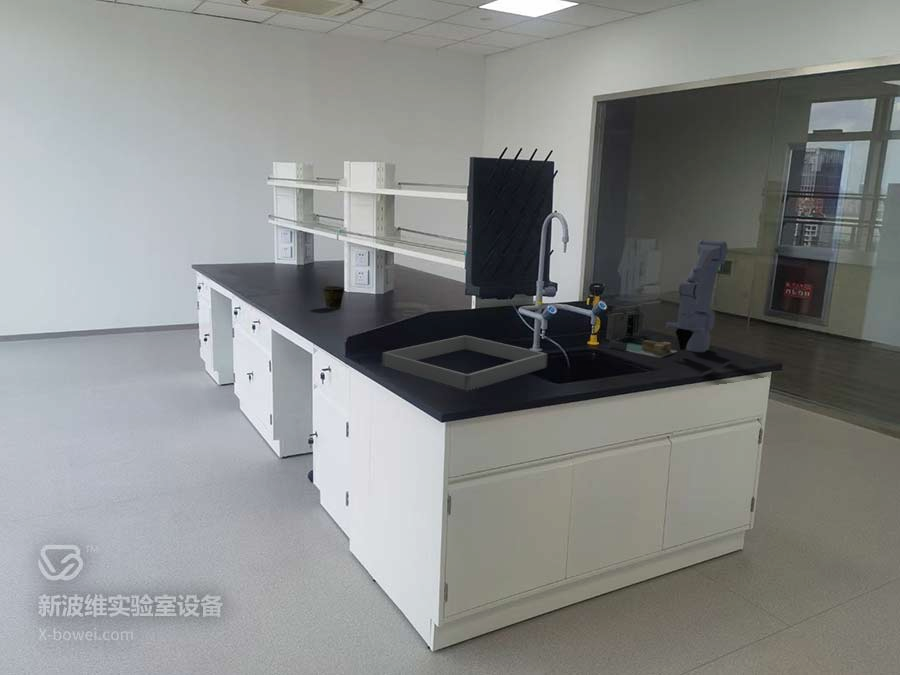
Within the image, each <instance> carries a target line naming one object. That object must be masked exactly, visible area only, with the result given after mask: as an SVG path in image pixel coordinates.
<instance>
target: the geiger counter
mask: <svg viewBox="0 0 900 675" xmlns="http://www.w3.org/2000/svg"><path fill="white" fill-rule="evenodd" d="M611 310H612V311H609V312H606V314H605V316H606V317H607V325H606V335H605V336H606V337H605V340H606V341H611V340H614V339H618V338H621V337H625V336H632V337H637V338H641V337H642V334H643V331H646V329H647V326H648V325H647V321H646V320H645V319H644V317H645V312H644V311H643V310H644V305H643V304H642V303H641V304H635V305H630V306H629V305H628V306H620V307H619V306H618V307H613V308H612V309H611ZM644 323H645V327H643V326H644Z"/></svg>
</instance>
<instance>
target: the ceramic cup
mask: <svg viewBox="0 0 900 675" xmlns="http://www.w3.org/2000/svg"><path fill="white" fill-rule="evenodd" d="M322 289H323V290H322V291H323V295H324V299H325V300H324V301H325V306H326V309H328V310H340V309H341V308H342V302H343V296H344V291H345V286H344V287H343V286H340V285H339V286H336V285H327V286H323V288H322Z"/></svg>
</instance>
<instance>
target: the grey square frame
mask: <svg viewBox="0 0 900 675" xmlns="http://www.w3.org/2000/svg"><path fill="white" fill-rule="evenodd" d="M461 350H462V351H463V350H468V351H472V352H476V353H479V354H484V355H488V356H492V357H498V358H500V359H501V358H502V359H506V360H510V361H511V362H506V363H503V364H499V365H496V366H492V367H489V368H484V369H482V370H478V371H473V372H471V373H470V372H469V373H463V372H459V371H457V370H452V369H449V368H445V367H441V366H438V365H434V364H431V363H427V362H423V361H420V360H423V359H428V358H432V357H437V356H441V355H446V354H449V353H453V352H458V351H461ZM382 366H385V367H389V368H392V369H395V370H398V371H401V372H405V373H409V374H412V375H415V376H419V377H422V378H426V379H429V380H433V381H436V382H439V383H443V384H446V385H450V386H453V387H456V388H459V389H463V390H466V391H467V392H469V391H468V390H471V391H473V390H472V389H474V390H476V389H475V388H477V389H480V388H479V387H481V388H484V387H487V386H489V385H493V384H496V383H500V382H503V381H506V380H510V379H512V378H516V377H519V376H520V377H521V376H524V375H527V374H529V373H533V372H536V371H539V370H543V369H546V368H547V366H548V353H546V352H542V351H537V350H534V349H529V348H524V347H520V346H516V345H511V344H507V343H506V344H505V343H502V342H497V341H493V340H489V339H484V338H479V337H476V336H471V335H467V334H466V335H465V334H464V335H460V336H455V337H451V338H446V339H442V340H441V339H440V340H436V341H435V340H434V341H432V342H430V341H429V342H425V343H421V344H418V345H417V344H416V345H412V346H409V347H408V346H407V347H403V348H397V349H394V350H393V349H392V350H389V351H383V352H381V367H382ZM401 372H400V373H401ZM415 376H414V377H415ZM439 383H438V384H439ZM483 386H484V387H483ZM456 388H455V389H456ZM459 389H458V390H459ZM463 390H462V391H463ZM466 391H465V392H466Z"/></svg>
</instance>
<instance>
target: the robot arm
mask: <svg viewBox="0 0 900 675" xmlns="http://www.w3.org/2000/svg"><path fill="white" fill-rule="evenodd" d="M727 253H728V243H727V242H726V241H718V240H717V241H715V240H706V239H700V241H699V242H698V245H697V254H698V259H697V261H696V265H695V266H694V267H692V268H690V271H689V273H688V274H687V277H686V279H685V280H684V281H683V282H680V284H679V287H678V297H679V298H678V301H679V308H678V315H677V316H678V317H677V322H669V321H668V322H665V328H666V329H674V330H676V331H675V335H676V337H677V341H678V344H679V350H681V351H684V350H687V351H690V352H692V353H693V352H694V353H705V352H707V351H709V350H710V342H711V334H710V331H712V330H713V328H714V325H715V317H716V313H715V311H714V310H713V309H712V308H711V307H710V305H711V301H712V297H713V292H714V288H715V284H716V279H717V275H718V271H719V269H720V267H721V266H722V265H724V264H725V262H726V258H727V255H728V254H727Z"/></svg>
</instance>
